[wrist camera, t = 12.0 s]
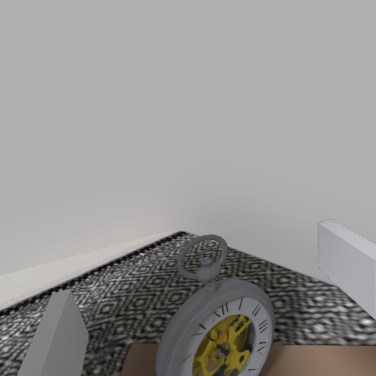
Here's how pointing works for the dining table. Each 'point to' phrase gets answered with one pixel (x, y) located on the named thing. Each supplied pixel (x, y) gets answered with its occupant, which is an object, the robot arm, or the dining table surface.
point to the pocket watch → (217, 325)
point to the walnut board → (277, 361)
